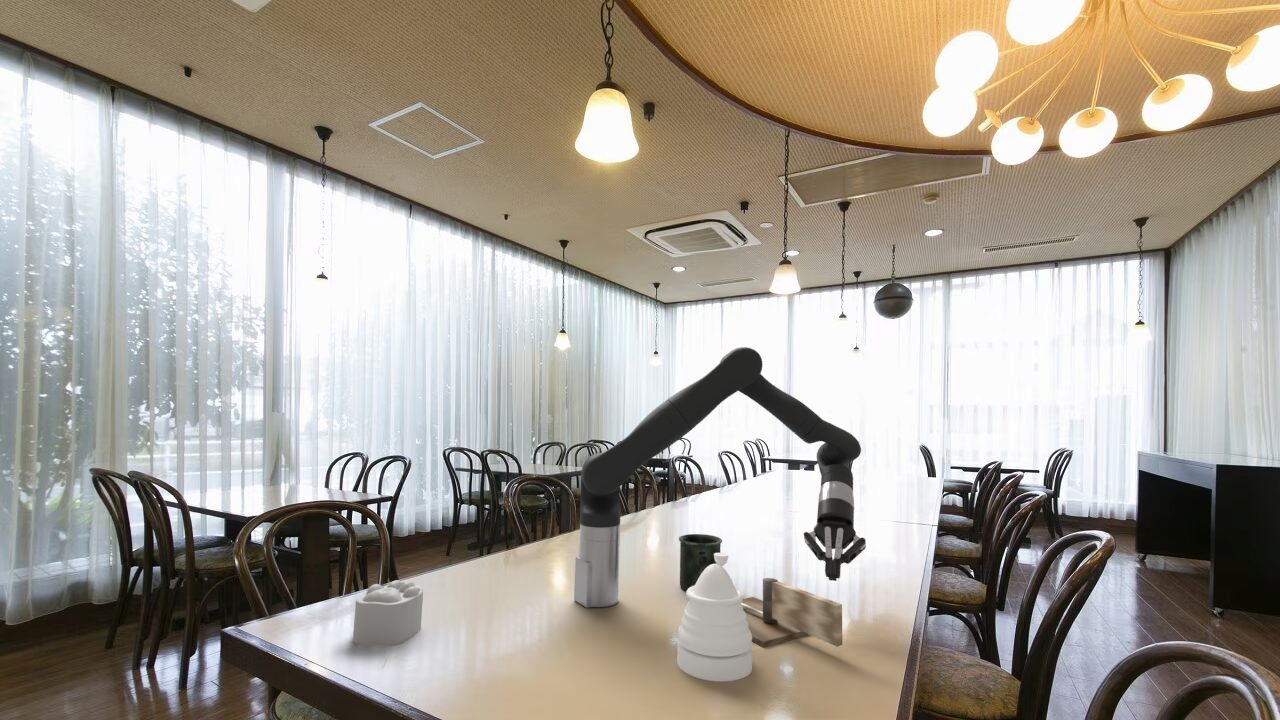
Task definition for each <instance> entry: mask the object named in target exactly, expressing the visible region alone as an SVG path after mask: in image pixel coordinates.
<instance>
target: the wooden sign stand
mask: <svg viewBox="0 0 1280 720" xmlns="http://www.w3.org/2000/svg"><path fill="white" fill-rule="evenodd" d="M741 603H743V604H746V605H748V606H750V607H753V608H755V609H757V610H759V611H762V612H763V599H760V598H757V597H755V596H751V597H746V598H745V597H744V598H743V600H742V602H741ZM743 611H744V612H745V614H746V620H747V622H748V625H749V626H748V628H749V630H750V632H751V634H752V643H754V644H756V645H758V646H761V647H762V648H767V647H770V646H775V645H777V644H780V643H784V642H788V641H791V640H795V639H798V638H802V637H804V636H810V635H809V634H807V633H804V632H802V631H800V630H798V629H795V628H793V627H791V626H789V625H786V624H784V623H782V622H779V621H778V622H777V623H766V622H764V621H763V616H760V615H758V614H756V613H754V612H751V611H749V610H747V609H745V608H743Z"/></svg>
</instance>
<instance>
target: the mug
mask: <svg viewBox="0 0 1280 720" xmlns="http://www.w3.org/2000/svg"><path fill="white" fill-rule="evenodd" d="M678 541H679V543H680V545H679V546H680V548H679V552H680V553H679V562H680V563H679V587H680V588H681V589H682V590H684V591H685V592H686V591H687V590H688V588H690V587H692V586H695V584H696V582H697V580H698V578H699V577H700V575H701V574H702V572H703V571H704V570H705V569H706V568H707V567H708V566H709V565H711V564H717V563H716V561H715V559H714V553H721V546H722V545H721V544H723V539H722V538H720V537H718V536H716V535H710V534H705V533H704V534H702V533H701V534H700V533H690V534H684V535H683V534H682V535H681V536H679V537H678Z"/></svg>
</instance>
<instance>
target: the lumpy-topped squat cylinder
mask: <svg viewBox="0 0 1280 720" xmlns="http://www.w3.org/2000/svg"><path fill="white" fill-rule="evenodd" d="M423 597H424V589H423V587H422V586H421V585H419V584H416V583H414V582H413V581H412V580H408V581H405V582H402V581H401V580H397V579H396V580H393V581H391V582H390V583H389V584H388V585H385V586H384V585H381V584H379V583H375V584H372V585H371V586H369V587H368V589H367V591H366V593H364V594H362V595H360V596H359V597H358V598H356V599H355V606H354V607H355V608H354V619H353V632H352V634H353V636H352V642H353V643H354V644H356V645H362V646H363V645H365V646H366V645H367V646H368V645H372V646H373V645H374V646H378V647H391V646H396V645H399V644H403V643H404V642H406V641H408V640H410V639H411V638H413V637H414V636H416V634H418V633H419V632H420V631H421V629H422V617H423V616H422V615H423V600H424V598H423Z"/></svg>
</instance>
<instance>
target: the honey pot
mask: <svg viewBox="0 0 1280 720" xmlns="http://www.w3.org/2000/svg"><path fill="white" fill-rule="evenodd" d="M714 559H715V561H716V563H717V564H711V565H709V566H708V567H707V568H706V569H705V570H704V571H703V572H702V574H701V575H700V577H699V578H698V580H697V582H696V584H695V586H692V587H690V588H688V590H687V591H685V593H686V597H687V598H688V602H687V605H686V607H685V608H684V610H683V616H682V618H681V622H680V625H679V627H678V628H677V645H676V646H677V650H676V651H677V652H676V654H677V655H676V657H677V658H676V660H677V661H676V662H677V667H679V669H680V670H681V671H683V672H684V673H685V674H687V675H689V676H691V677H694V678H698V679H701V680H704V681H710V682H732V681H737V680H742V679H743V678H745V677H748V676H749V674H751V673H752V671H753V642H752V634H751V632H750V630H749V628H748V626H749V625H748V622H747V620H746V614H745V612H744V611H743V607H742V604H741V602H742V600H743V599H745V597H744V594H743V592H742V591H741V590H739V589H738V588H736V586H735V584H734V582H733V580H732V578H731V576H730V575H729V573H728V572H727V570H726V568H724V567H723V566H725V565H726V564H727V563H728V560H729V554H728V553H726V552H720V553H714Z"/></svg>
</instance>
